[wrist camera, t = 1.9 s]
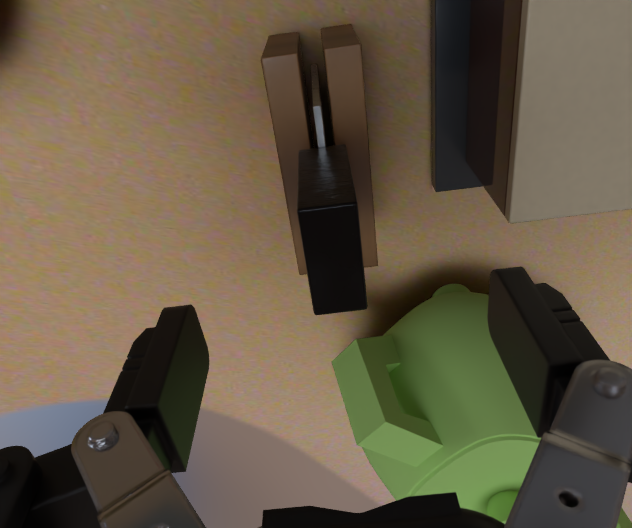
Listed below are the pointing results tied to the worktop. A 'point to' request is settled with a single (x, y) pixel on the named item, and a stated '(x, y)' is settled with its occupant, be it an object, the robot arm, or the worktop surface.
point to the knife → (329, 221)
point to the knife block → (345, 114)
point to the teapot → (440, 406)
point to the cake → (533, 104)
